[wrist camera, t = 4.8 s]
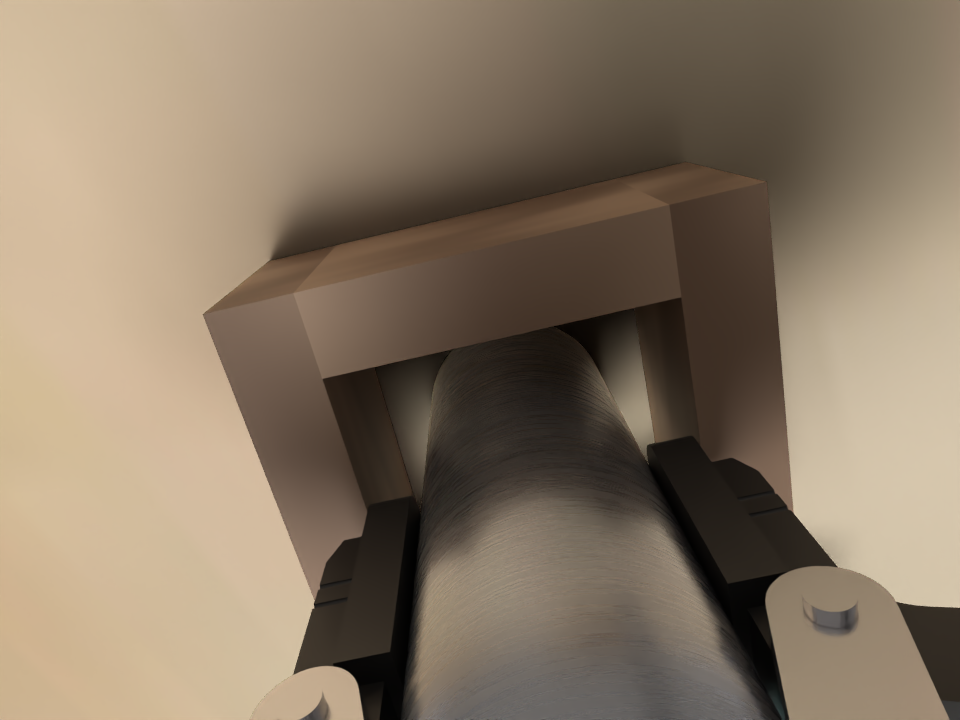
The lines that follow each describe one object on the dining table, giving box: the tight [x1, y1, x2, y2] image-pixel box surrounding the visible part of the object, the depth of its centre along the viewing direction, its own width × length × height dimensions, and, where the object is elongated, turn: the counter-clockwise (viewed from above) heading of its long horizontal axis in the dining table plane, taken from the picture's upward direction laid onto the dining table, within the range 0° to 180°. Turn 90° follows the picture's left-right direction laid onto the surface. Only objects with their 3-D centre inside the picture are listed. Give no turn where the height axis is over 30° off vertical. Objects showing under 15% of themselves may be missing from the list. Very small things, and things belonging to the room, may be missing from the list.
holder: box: [203, 162, 793, 600], centre depth 14 cm, size 9×9×4 cm
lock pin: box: [401, 327, 782, 720], centre depth 9 cm, size 4×4×14 cm
